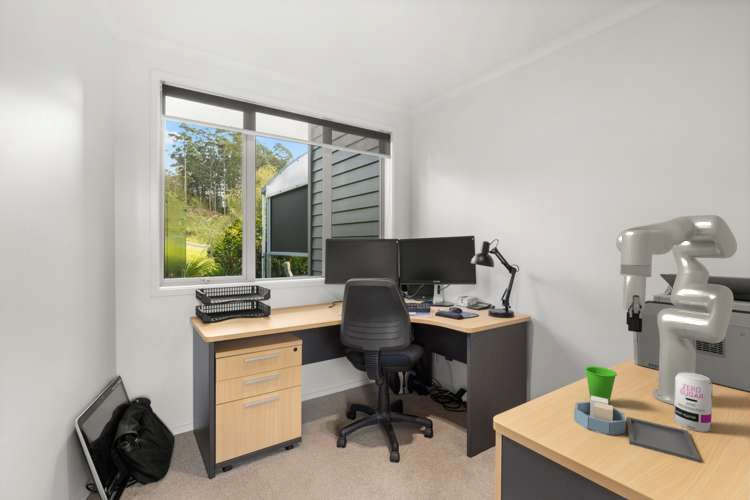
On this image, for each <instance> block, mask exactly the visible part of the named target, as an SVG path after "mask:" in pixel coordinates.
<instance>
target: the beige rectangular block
mask: <svg viewBox="0 0 750 500" xmlns="http://www.w3.org/2000/svg"><path fill="white" fill-rule="evenodd" d="M613 408H614V405H611V404H609V405H607V404H602V403H598V402H595V405H594V418H597V419H601V420H605V421H613Z"/></svg>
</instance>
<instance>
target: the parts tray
mask: <svg viewBox="0 0 750 500" xmlns="http://www.w3.org/2000/svg"><path fill="white" fill-rule="evenodd" d="M626 426H627V434H628V442H629V445H632V446H636V447H639V448H643V449H647V450H652V451H654V452H659V453H662V454H666V455H669V456H673V457H677V458H681V459H685V460H689V461H692V462H696V463H701V458H700V456H699V453H698V451H697V450H696V447H695V445H694V442H693V440H692V438H691V435H690V433H689V431H688V429H687V430H685V429H683V428H677V427H673V426H669V425H664V424H660V423H656V422H652V421H647V420H645V419H644V420H643V419H638V418H635V417H630V416H626Z"/></svg>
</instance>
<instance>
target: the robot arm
mask: <svg viewBox="0 0 750 500" xmlns="http://www.w3.org/2000/svg"><path fill="white" fill-rule="evenodd" d="M615 245H616V247H617V248H616V249H617V250H618V251H619V252H620V268H619V269H620V274H619V275H620V276H623V277H624V278H623V285H622V286H623V288H622V290H623V292H622V307H623V309H624V310H627V311H626V325H627V331H628V332H635V333H642V331H643V318H642V312H643V311H644V310H645V306H646V305H645V304H646V296H647V295H646V293H647V292H646V291H647V278H652V268H653V267H652V265H653V255H654V256H656V255H657V256H659V255H666V254H668V253H669V252H671V251H672V254H673V257H674V261H675V263H676V266H677V273H676V276H675V278H674V279H675V280H674V282H673V286H672V289H671V293H670V297H669V298H670V302H671V304H672V305H674V306H675V307H668V308H664V309H661V310H660V311H659V312H658V313H657V316H656V317H657V318H656V322H657V328H658V334H659V335H658V336H659V361H658V388H656V389H653V390H652V396H653V397H654V398H655V399H657V400H659V401H661V402H663V403H667V404H670V405H673V406H674V397H675V377H676V376H677V374H678V373H679V372H690V373H696V362H697V361H696V358H697V355H696V349H695V347H694V346H693V344H692V343H691V342H690V340H693V341H699V342H700V341H701V342H703V343H704V342H706V343H711V344H719V343H721V342H723V341H724V339H725V338H726V334H727V332H728V327H729V324H730V320H731V314H732V312H733V308H734V294H733V292H732V290H731V289H730V288H729V287H728V286H725V285H722V284H716V283H715V284H714V283H708V281H709V278H710V272H709V270H708V269H707V268H706V266H705V265H704V264H703V263H702V262H701V261H699V260H698V258H699V259H700V258H701V259H729V258H732V257H733V256H734V255H735V254H736V252H737V250H738V243H737V240H736V237H735V235H734V233H733V232H732V230H731V228H730V226H729V225H728V224H727V222H726V221H725V219H723V218H722V217H721V216H719V215H716V214H705V215H704V214H703V215H699V214H698V215H683V216H677V217H675V218H671V219H670V220H666V221H663V222H655V223H652V224H647V225H640V226H639V225H638V226H633V227H630V228H627V229H624V230H622V231H621V232H619V233H618V235H617V237H616V239H615ZM689 339H690V340H689Z"/></svg>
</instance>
